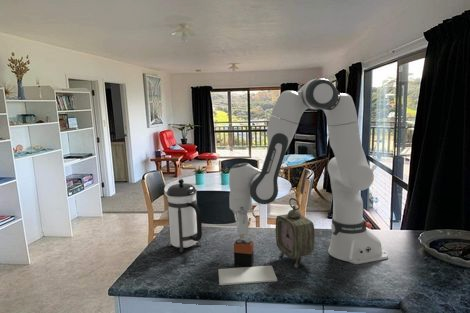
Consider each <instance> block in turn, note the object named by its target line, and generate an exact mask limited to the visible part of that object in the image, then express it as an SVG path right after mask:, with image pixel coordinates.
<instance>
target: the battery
mask: <svg viewBox="0 0 470 313" xmlns="http://www.w3.org/2000/svg"><path fill="white" fill-rule="evenodd" d="M254 252H255V251H254V241H253V240H251V239H249V238H248V239H246V238H245V239H242V238H237V239H236V240H235V242H234V243H233V262H234V263H233V264H234V266H235V267H238V268H243V267H253V266H254V261H255V260H254V258H255V257H254V256H255V255H254Z"/></svg>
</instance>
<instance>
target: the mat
mask: <svg viewBox="0 0 470 313" xmlns="http://www.w3.org/2000/svg"><path fill="white" fill-rule="evenodd" d="M271 282H278V278H277V276H276V273H275V271H274V268H273V265H259V266H252V267H231V268H229V267H228V268H218V285H219V286H227V285H241V284H242V285H243V284H244V285H245V284H256V283H271Z"/></svg>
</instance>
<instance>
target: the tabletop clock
mask: <svg viewBox="0 0 470 313" xmlns="http://www.w3.org/2000/svg"><path fill="white" fill-rule="evenodd" d="M291 201H295V202H296V203H297V205H298V206H297V208H296V205H294V204H293V205H292V202H291ZM288 204H289V207H290V208H291V210H289V211H288V213H286V214H281V215H277V216H276V218H275V242H276V246H277V248H278V249H279V250H280V252H279V255H280V256H281V257H284V256H287V257H288V258H290V259H295V263H294V268H296V269H299V267H300V266H299V260H301V259H302V257H306V256H310V255H312V253H313V252H314V248H315V225H314V222H313V221H311V220H310V219H309V218H308V217H305V216H304V215H302V214H301V211H299V210H300V208H301V207H300V206H301V205H300V202H299V201H298V199H297V198H294V197H291V198H289V201H288Z"/></svg>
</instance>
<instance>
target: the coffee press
mask: <svg viewBox="0 0 470 313" xmlns="http://www.w3.org/2000/svg"><path fill="white" fill-rule="evenodd" d="M197 191H198V190H197V188H196V187H195V185H193V184H190V183H184V179H183V178H180V179H179V180H178V181H177V183H175V184H172V185H170V186H169V187H168V188H167V191H165V192H166V193H165V194H166V196H167V201H166V202H167V216H168V231H169V232H168V233H169V234H168V235H169V241H168V243H167V247H171V246H173V247H175V248H178V249H179V253H180V254H183V253H184V249H185V248H189V247H192V246H194V245H196V246H198V247H201V246H202V241H201V239H202V237H203V236H202V235H203V234H202V233H203V228H202V226H203V225H202V224H203V223H202V214H201V210H200V208H199V206H198V202H197V201H198V199H197ZM198 242H199V243H198ZM169 243H170V244H169Z"/></svg>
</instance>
